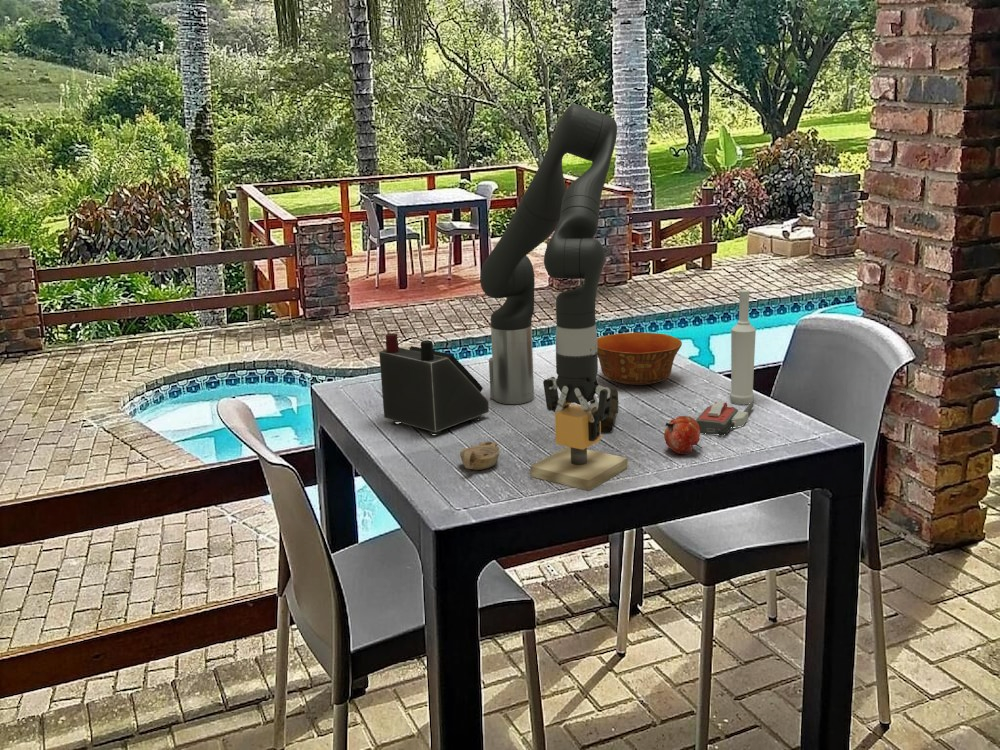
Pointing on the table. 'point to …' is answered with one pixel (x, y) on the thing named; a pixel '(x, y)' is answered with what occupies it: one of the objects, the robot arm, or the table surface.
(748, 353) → the bottle
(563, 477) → the cream base with peg
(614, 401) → the hand tool
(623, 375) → the bowl
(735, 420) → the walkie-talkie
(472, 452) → the oil lamp
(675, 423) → the pomegranate
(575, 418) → the mustard yellow cube
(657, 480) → the table surface
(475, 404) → the voltmeter
